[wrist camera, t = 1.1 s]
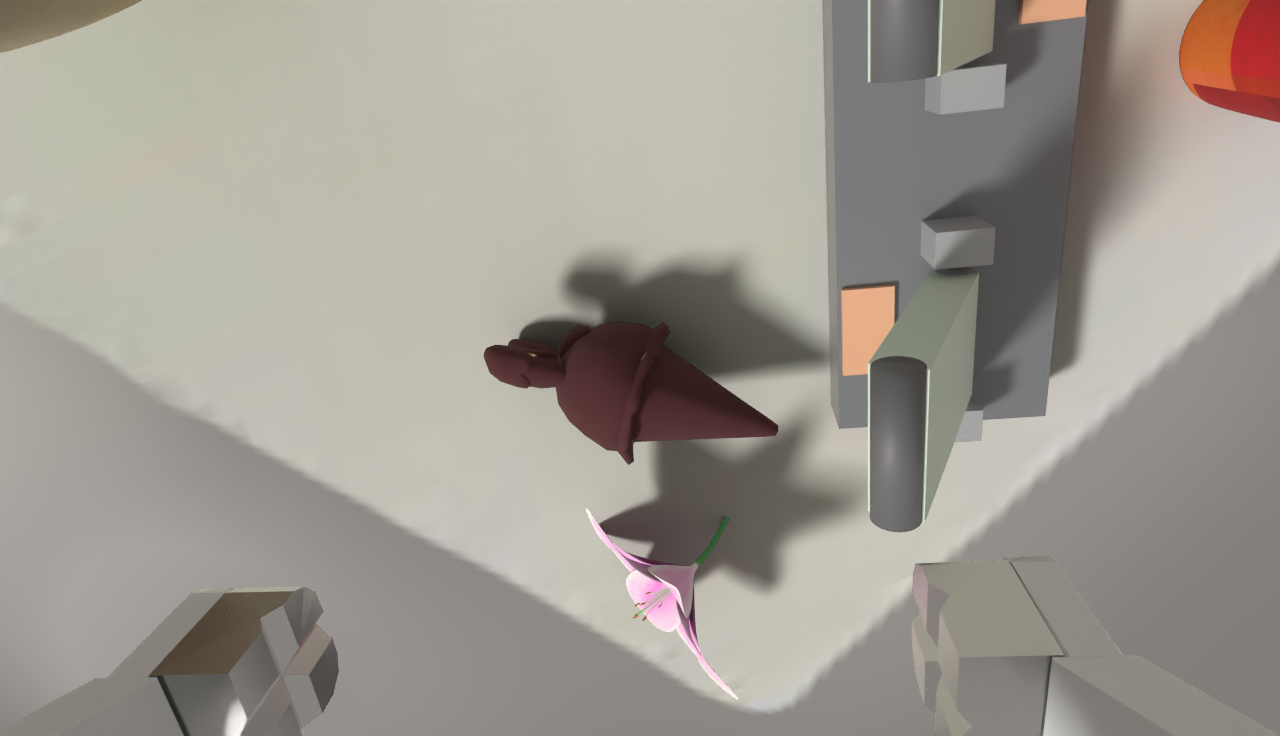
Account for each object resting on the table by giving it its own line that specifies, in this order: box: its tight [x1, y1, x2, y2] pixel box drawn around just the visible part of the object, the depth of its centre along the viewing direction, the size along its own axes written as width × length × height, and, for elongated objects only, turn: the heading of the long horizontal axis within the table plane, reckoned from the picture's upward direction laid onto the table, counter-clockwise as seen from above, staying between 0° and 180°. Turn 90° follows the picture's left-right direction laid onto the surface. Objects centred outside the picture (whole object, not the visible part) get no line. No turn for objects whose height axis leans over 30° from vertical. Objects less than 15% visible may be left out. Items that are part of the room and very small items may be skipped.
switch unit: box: [823, 0, 1088, 442], centre depth 33 cm, size 26×10×5 cm, turn 7°
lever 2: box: [868, 267, 979, 532], centre depth 30 cm, size 6×2×13 cm, turn 7°
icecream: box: [484, 322, 778, 465], centre depth 38 cm, size 7×7×15 cm
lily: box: [586, 508, 739, 700], centre depth 42 cm, size 12×12×10 cm
